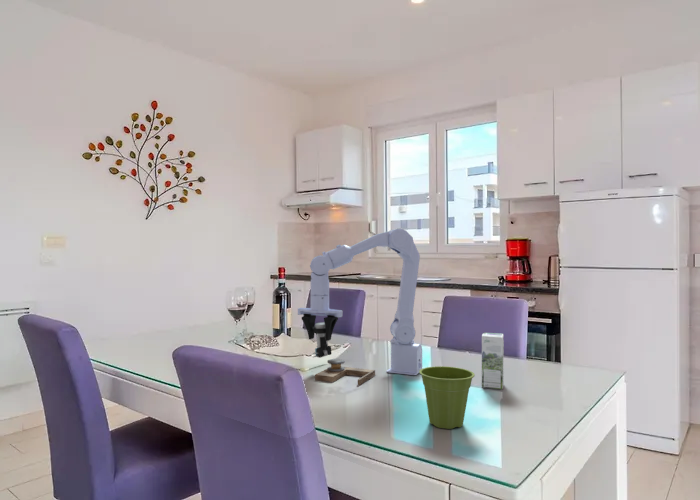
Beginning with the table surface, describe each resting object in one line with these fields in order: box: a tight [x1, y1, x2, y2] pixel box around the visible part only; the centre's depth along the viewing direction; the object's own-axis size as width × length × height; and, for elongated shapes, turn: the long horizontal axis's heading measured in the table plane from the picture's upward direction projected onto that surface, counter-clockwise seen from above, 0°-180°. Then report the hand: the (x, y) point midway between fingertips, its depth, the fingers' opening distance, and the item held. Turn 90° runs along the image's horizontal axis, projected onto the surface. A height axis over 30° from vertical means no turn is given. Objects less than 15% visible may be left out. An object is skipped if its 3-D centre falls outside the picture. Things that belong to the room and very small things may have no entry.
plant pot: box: [418, 365, 476, 430], centre depth 108 cm, size 12×12×11 cm
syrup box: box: [481, 332, 505, 390], centre depth 137 cm, size 6×6×14 cm
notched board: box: [314, 358, 376, 386], centre depth 147 cm, size 14×12×4 cm
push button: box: [312, 321, 332, 358], centre depth 153 cm, size 7×5×10 cm
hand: (319, 339), depth 152 cm, fingers closed on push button, 5 cm apart
